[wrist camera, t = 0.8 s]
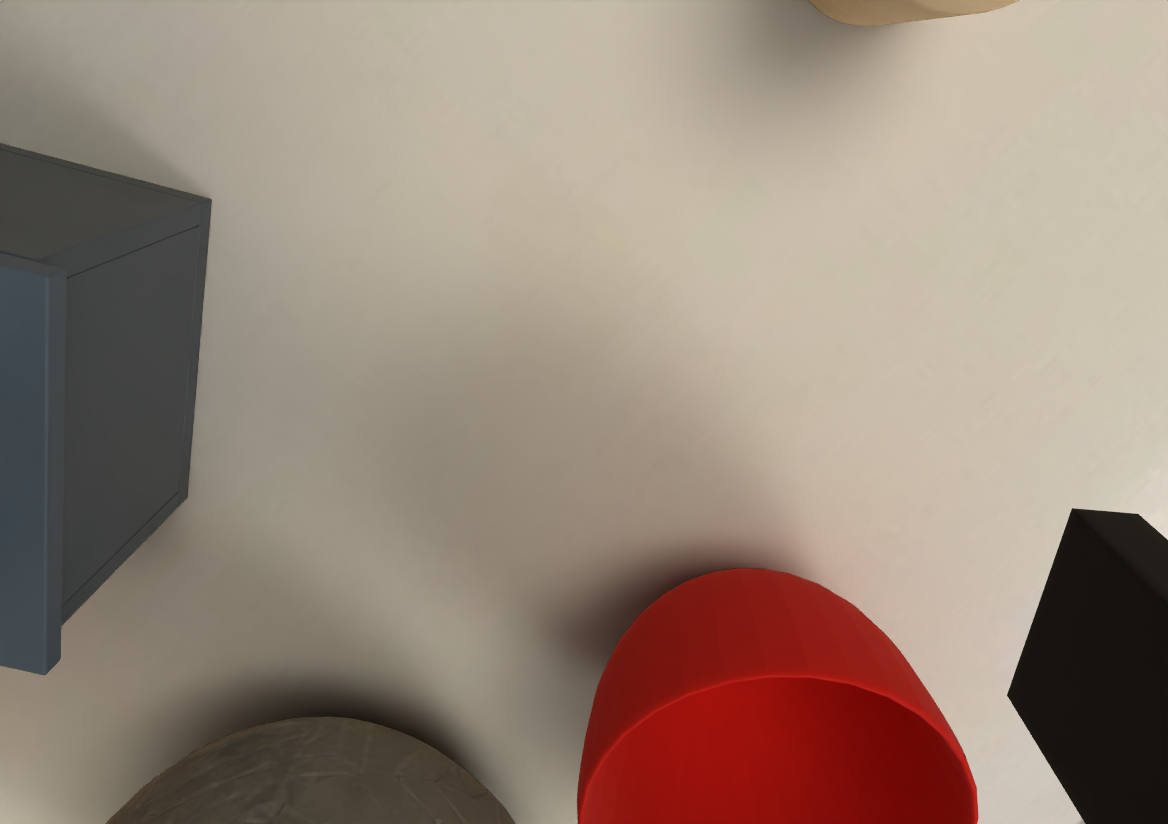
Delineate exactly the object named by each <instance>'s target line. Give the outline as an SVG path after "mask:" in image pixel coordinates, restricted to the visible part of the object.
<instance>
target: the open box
mask: <svg viewBox="0 0 1168 824" xmlns="http://www.w3.org/2000/svg"><path fill="white" fill-rule="evenodd" d="M211 201H212V200H211V199H209V198H205V197H201V196H197V195H194V194H190V193H186V192H182V191H179V190H175V189H171V188H167V187H163V186H160V185H156V184H152V183H148V182H145V181H141V180H137V179H133V178H129V177H126V176H122V175H118V174H114V173H111V172H107V171H103V170H99V169H95V168H92V167H88V166H84V165H80V164H77V163H73V162H69V161H65V160H61V159H58V158H54V157H50V156H46V155H43V154H39V153H35V152H31V151H27V150H24V149H20V148H16V147H12V146H9V145H5V144H1V143H0V253H3V254H7V255H11V256H15V257H19V258H23V259H27V260H31V261H34V262H38V263H42V264H46V265H50V266H54V267H58V268H62V269H65V270H66V272H67V276H66V341H65V407H64V472H63V538H62V603H61V626H62V625H63V624H64V623H65V622H66V621H67V620H68V619H69V618H70V617H71V616H72V615H73V614H74V613H75V612H76V611H77V610H78V609H79V608H80V607H81V606H82V605H83V604H84V603H85V602H86V600H87V599H88V598H89V597H90V596H91V595H92V594H93V593H94V592H95V591H96V590H97V589H98V588H99V587H100V586H101V585H102V584H103V583H104V582H105V581H106V580H107V579H108V578H109V577H110V576H111V575H112V574H113V573H114V572H115V571H116V570H117V569H118V568H119V567H120V566H121V565H122V564H123V563H124V562H125V561H126V560H127V559H128V558H129V557H130V556H131V555H132V554H133V552H134V551H135V550H136V549H137V548H138V547H139V546H140V545H141V544H142V543H143V542H144V541H145V540H146V539H147V538H148V537H149V536H150V535H151V534H152V533H153V532H154V531H155V530H156V529H157V528H158V527H159V526H160V525H161V524H162V523H163V522H164V521H165V520H166V519H167V518H168V517H169V516H170V515H171V514H172V513H173V512H174V511H175V510H176V509H177V507H179V506H180V505H181V503H182V502H183V501H184V500H185V499H186V498H187V492H188V480H189V468H190V455H191V443H192V431H193V419H194V407H195V395H196V383H197V371H198V358H199V346H200V334H201V322H202V310H203V298H204V286H205V274H206V262H207V249H208V237H209V225H210V213H211Z"/></svg>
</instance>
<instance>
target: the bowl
mask: <svg viewBox="0 0 1168 824" xmlns="http://www.w3.org/2000/svg"><path fill="white" fill-rule="evenodd" d="M106 824H515V822H514V821H513V819H512V818H511V816H510V815H509V813H508V812H507V810H506V809H505V807H504V806H503V805H502V804H501V803H500V802H499V801H498V800H497V799H496V798H495V797H494V796H493V794H492V793H490V792H489V791H488V790H487V789H486V788H485V787H484V786H483V785H482V784H481V783H480V782H479V781H478V780H476V779H475V778H474V777H473V776H472V775H471V774H470V773H469V772H467V771H466V770H465V769H464V768H462V767H461V766H459V765H458V764H456V763H455V762H453V761H452V760H451V759H449V758H448V757H446V756H445V755H443V754H442V753H441V752H439V751H438V750H436V749H434V748H433V747H431V746H429V745H427V744H425V743H423V742H422V741H420V740H418V739H416V738H414V737H412V736H409V735H407V734H404V733H402V732H399V731H397V730H394V729H391V728H388V727H385V726H381V725H378V724H375V723H371V722H366V721H360V720H356V719H352V718H341V717H329V716H326V717H299V718H292V719H287V720H282V721H278V722H273V723H268V724H263V725H258V726H254V727H250V728H247V729H244V730H241V731H238V732H235V733H233V734H230V735H227V736H225V737H223V738H221V739H219V740H216V741H214V742H212V743H210V744H208V745H205V746H203V747H201V748H199V749H197V750H195V751H194V752H192V753H191V754H190V755H188V756H187V757H185V758H184V759H182V760H181V761H179V762H178V763H176V764H175V765H173V766H172V767H170V768H169V769H167V770H166V771H164V772H163V773H161V774H160V775H158V776H157V777H155V778H154V779H153V780H152V781H151V782H150V783H148V784H147V785H146V786H144V787H143V788H141V789H140V790H139V791H138V792H137V793H136V794H135V795H134V796H133V797H132V798H131V799H130V800H129V801H128V802H127V803H126V804H125V805H124V806H123V807H122V808H121V809H120V810H119V811H118V812H117V813H116V814H115V815H113V816H112V817H111V818H110V819H109V820H108V821H107V823H106Z"/></svg>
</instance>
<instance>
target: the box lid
mask: <svg viewBox="0 0 1168 824" xmlns="http://www.w3.org/2000/svg"><path fill="white" fill-rule="evenodd" d="M66 276H67V272H66V270H65V269H62V268H58V267H54V266H50V265H46V264H42V263H38V262H34V261H31V260H27V259H23V258H19V257H15V256H11V255H7V254H3V253H0V666H5V667H9V668H14V669H18V670H23V671H27V672H32V673H36V674H40V675H46V674H47V673H48V672H49V671H50V670H51V669H52V668H53V667H54V666H55V665H56V664H57V662H58V661H59V660H60V658H61V603H62V538H63V472H64V407H65V341H66Z"/></svg>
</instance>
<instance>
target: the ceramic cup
mask: <svg viewBox="0 0 1168 824" xmlns="http://www.w3.org/2000/svg"><path fill="white" fill-rule="evenodd" d="M577 811H578V824H977V822H978V804H977V788H976V785H975V782H974V779H973V776H972V773H971V771H970V768H969V765H968V762H967V759H966V756H965V754H964V752H963V750H962V747H961V746H960V744H959V742H958V740H957V738H956V736H955V735H954V733H953V731H952V729H951V727H950V726H949V724H948V722H947V721H946V719H945V717H944V716H943V714H942V712H941V711H940V709H939V708H938V706H937V705H936V703H935V701H934V700H933V698H932V697H931V695H930V694H929V692H928V691H927V689H926V688H925V686H924V685H923V683H922V682H921V680H920V679H919V677H918V676H917V675H916V673H915V672H914V670H913V669H912V667H911V666H910V664H909V663H908V661H907V660H906V659H905V657H904V656H903V654H902V653H901V652H900V650H899V649H898V648H897V647H896V646H895V644H894V643H893V642H892V641H891V640H890V639H889V638H888V636H887V635H886V634H885V633H884V632H883V631H882V630H880V629H879V628H878V627H877V626H876V625H875V624H874V623H873V622H872V621H871V620H870V619H868V618H867V617H866V616H865V615H864V614H863V613H862V612H861V611H860V610H859V609H858V608H856V607H855V606H854V605H852V604H851V603H850V602H848V601H847V600H845V599H843V598H841V597H840V596H838V595H836V594H835V593H833V592H831V591H829V590H828V589H826V588H824V587H823V586H821V585H819V584H817V583H814V582H811V581H808V580H806V579H803V578H800V577H797V576H794V575H791V574H789V573H784V572H778V571H772V570H766V569H759V568H735V569H729V570H723V571H717V572H711V573H708V574H705V575H702V576H700V577H697V578H694V579H691V580H688V581H686V582H685V583H683V584H681V585H679V586H677V587H675V588H674V589H672V590H670V591H668V592H666V593H665V594H663V595H662V596H661V597H660V598H658V599H657V600H656V601H655V602H654V603H652V604H651V605H650V606H649V607H647V608H646V609H645V610H644V611H643V612H642V613H641V614H640V615H639V616H638V618H637V619H636V620H635V621H634V623H633V624H632V625H631V626H630V628H629V629H628V630H627V631H626V632H625V634H624V635H623V636H622V637H621V639H620V641H619V642H618V644H617V646H616V648H615V650H614V652H613V654H612V656H611V658H610V660H609V662H608V664H607V666H606V668H605V670H604V672H603V674H602V676H601V679H600V682H599V684H598V687H597V690H596V694H595V698H594V702H593V706H592V710H591V715H590V719H589V723H588V728H587V732H586V737H585V742H584V748H583V754H582V760H581V767H580V774H579V783H578V794H577Z"/></svg>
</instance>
